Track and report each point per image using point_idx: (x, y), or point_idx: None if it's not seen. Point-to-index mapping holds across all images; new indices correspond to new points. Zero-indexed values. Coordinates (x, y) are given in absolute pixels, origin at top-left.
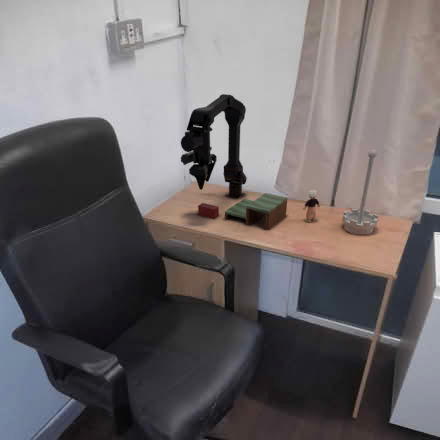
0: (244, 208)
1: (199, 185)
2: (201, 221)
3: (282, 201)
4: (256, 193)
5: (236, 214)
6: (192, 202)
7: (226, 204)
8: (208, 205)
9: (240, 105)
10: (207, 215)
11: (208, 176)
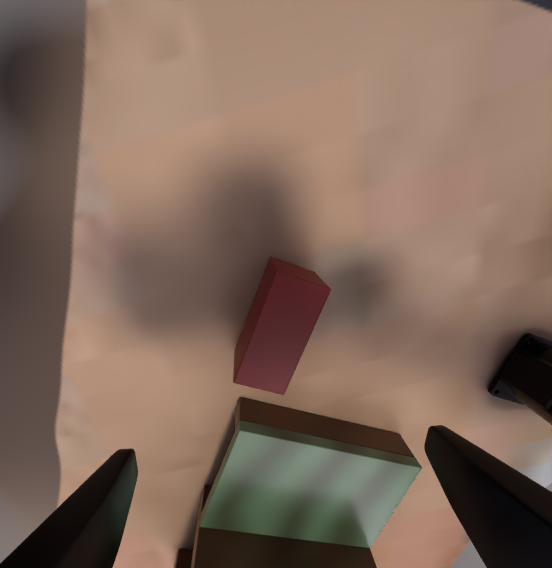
0: (295, 498)
1: (60, 526)
2: (181, 299)
3: None
4: (540, 442)
5: (215, 485)
6: (446, 168)
7: (418, 359)
8: (290, 336)
9: None
10: (248, 317)
11: (477, 528)
